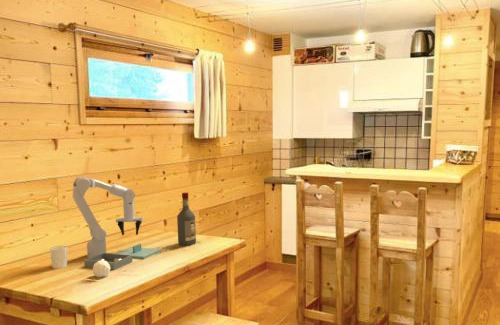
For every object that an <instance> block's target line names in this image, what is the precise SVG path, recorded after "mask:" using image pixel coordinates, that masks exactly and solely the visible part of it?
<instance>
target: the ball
mask: <svg viewBox="0 0 500 325" xmlns="http://www.w3.org/2000/svg"><path fill="white" fill-rule="evenodd" d="M110 271H111V270H110V265H109V264H108V263H107V261H103V260H101V261H98V262H96V263H95V264H94V266H93V268H92V273H93V275H94V276H95V277H96V278H104V277H107V276H108V275H109V274H110V273H111V272H110Z"/></svg>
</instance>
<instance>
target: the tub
mask: <svg viewBox="0 0 500 325" xmlns="http://www.w3.org/2000/svg"><path fill="white" fill-rule="evenodd" d="M101 258H103V259H105V261H107V263H108V264H109V265H110V271H115V270H118V269H120V268H122V267H124V266H127V265H130V264H131V263H133V258H132V255H123V254H115V253H109V252H106V253H101V254H99V255H96V256H94V257H87V258H86V259H83V260H84V268H89V269H90V268H92V269H93V266H94V264H95V263H96V262H98V261H97V259H101ZM115 258H121V260H119V261H116V262H114V259H115Z"/></svg>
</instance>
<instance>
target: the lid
mask: <svg viewBox="0 0 500 325" xmlns="http://www.w3.org/2000/svg"><path fill="white" fill-rule="evenodd" d="M160 253H161V249H160V248H149V247H148V248H147V247H142V243H137V244H135V245H132V246H129V247H127V248H125V249H123V250H120V251H118V252H115V253H114V254H123V255H132V259H140V260H145V259H147V258H150V257H152V256H155V255H156V256H157V255H158V254H160Z"/></svg>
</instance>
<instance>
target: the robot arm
mask: <svg viewBox="0 0 500 325" xmlns="http://www.w3.org/2000/svg"><path fill="white" fill-rule="evenodd" d="M95 187H96V188H99V189H103V190H106V191H108V192H109V194H110V195H113V196H115V197H116V196H117V197H119V198H122V201H123V203H122V204H123V205H122V206H123V217H119V218H115V223H117V225H118V227H119V229H120V232H121V235H122V236H124V235H125V223H133V222H134V224H135V235H136V236H138V235H139V231H140V226H141V224H142V222H144V217H136V216H135V197H136V193H135V191H134V190H133V189H131V188H128V187H127V186H122V185H120V184H119V183H112V184H109V183H107V182H103V181H100V180H98V179H95V178H90V177H89V178H88V177H84V176H78V177H76V178H75V179H74V181H73V184H72V189H73V190H72V198H73V200H74V202H75V204H76V206H77V208H78V210H79V212H80V213H81V215H82V217H83V218H84V221H85V222H86V224H87V226H88V229H89V232H90V234H89V235H90V236H91V237H92V238H91V239H90V240H88V241H87V244H86V252H87V254H86V258H91V257H94V256H96V255H99V254H101V253H107V243H106V242H107V241H106V240H107V239H106V237H107V231H106V230H104V229H103V228H102V226H101V225H100V224H99V222H98V220H97V219H96V217H95V214H93V212H92V210H91V208H90V206H89V204H88V202H87V201H86V199H85V194H86V192H88V190H89V189H90V188H91V189H92V188H95Z"/></svg>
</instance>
